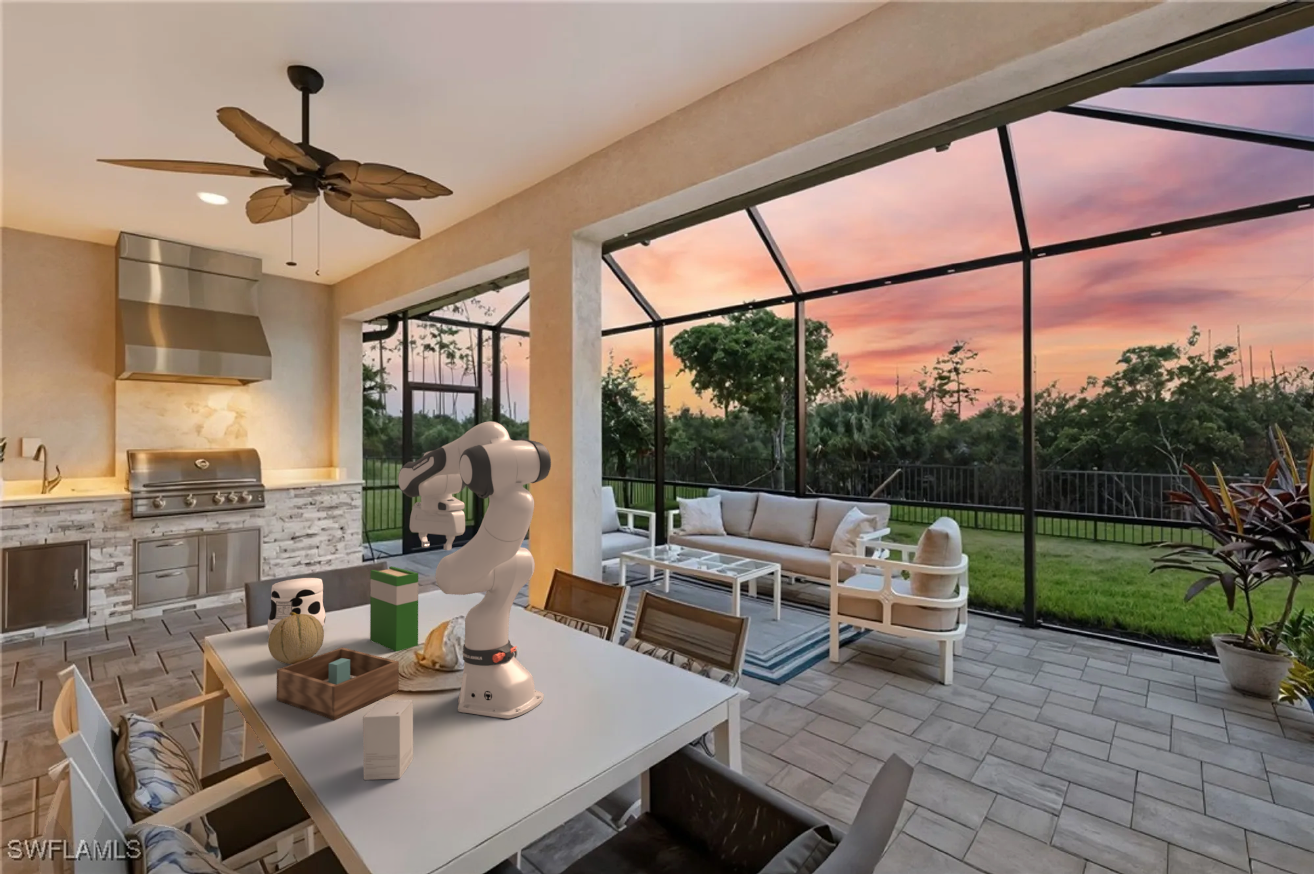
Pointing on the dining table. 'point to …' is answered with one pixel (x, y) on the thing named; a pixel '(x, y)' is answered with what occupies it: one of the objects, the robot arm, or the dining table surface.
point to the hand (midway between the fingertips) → (436, 548)
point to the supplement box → (388, 739)
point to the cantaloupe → (295, 638)
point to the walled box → (315, 694)
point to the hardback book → (394, 608)
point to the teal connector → (339, 671)
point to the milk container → (296, 600)
